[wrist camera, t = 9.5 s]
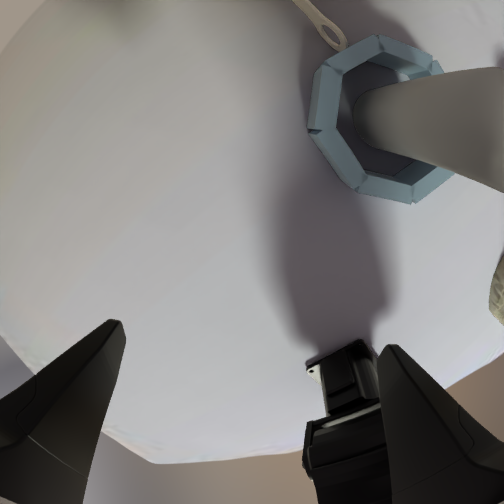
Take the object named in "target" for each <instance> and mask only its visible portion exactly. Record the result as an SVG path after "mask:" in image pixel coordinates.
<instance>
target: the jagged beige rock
mask: <svg viewBox="0 0 504 504" xmlns="http://www.w3.org/2000/svg"><path fill="white" fill-rule="evenodd" d="M489 303H490V304H489V310H490V312H491V313H492V314H493V315H494V317H496V318H497V319H498V320H499V322H501V323H502V324H503V326H504V256H503V257H502V259H501V261H500V263H499V264H498V266H497V268H496V271H495V273H494V275H493V279H492V283H491V288H490V296H489Z"/></svg>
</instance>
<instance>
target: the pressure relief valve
mask: <svg viewBox="0 0 504 504" xmlns="http://www.w3.org/2000/svg"><path fill="white" fill-rule="evenodd" d="M292 1H293V2H294V3H295V4H296V5H297V6H298V7H299V8H300V9H301V10H302V11H303V12H304V13H305V14H306V15H307V17H308V18H309V19H310V20H311V21H312V22H313V24H314V25H315V27H316V29H317V31H318V32H319V34H320V35H321V36H322V38H323V39H324V40H325V41H326V42H327V43H328V44H329V45H330V46H331V47H332V48H333V49H335V50H337V51H339V52H341V51H343V50H344V49H346V48H348V47H349V45H348V41H347V39H346V37H345V35H344V34H343V32H342V31H341V30H340V29H339V27H337V26H336V25H335V24H334V23H333V22H332V21H330V20H329V19H327V18H326V17H325V16H324V15H322V13H321V12H320V11H319V10H318V9H317V8H316V7H315V6H314V5H313V4H312V3H311V2H310V1H309V0H292ZM323 25H326V26H328V27H329V28H330V29H332V30H333V31H334V32H335V34H336V35H337V36H338V38H339V40H340V45H339V44H337V43H335V42H334V41H332V40H331V39H330V38H329V37H328V35H327V34H326V33H325V31H324V29H323Z"/></svg>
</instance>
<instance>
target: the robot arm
mask: <svg viewBox="0 0 504 504" xmlns="http://www.w3.org/2000/svg"><path fill="white" fill-rule="evenodd" d="M125 344H126V336H125V332H124V329H123V325H122V322H121V321H119V320H115V319H108V320H107V321H106V322H104V323H103V324H101V325H100V326H99V327H97V328H96V329H95V330H93V331H92V332H91V333H89V334H88V335H87V336H85V337H84V338H83V339H81V340H80V341H79V342H77V343H76V344H75V345H73V346H72V347H71V348H69V349H68V350H67V351H65V352H64V353H63V354H61V355H60V356H59V357H57V358H56V359H55V360H53V361H52V362H51V363H50V364H48V365H47V366H46V367H44V368H43V369H42V370H41V371H39V372H38V373H37V374H36V375H34V376H33V377H32V378H30V379H29V380H28V381H26V382H25V383H24V384H22V385H21V386H20V387H18V388H17V389H15V390H14V391H12V392H11V393H9V394H8V395H6V396H5V397H3V398H2V399H0V504H83V499H84V494H85V489H86V485H87V481H88V476H89V472H90V468H91V464H92V460H93V456H94V452H95V448H96V445H97V442H98V438H99V435H100V431H101V428H102V425H103V421H104V418H105V415H106V412H107V409H108V406H109V403H110V400H111V397H112V394H113V391H114V388H115V385H116V382H117V378H118V374H119V369H120V365H121V361H122V356H123V352H124V348H125ZM359 344H360V345H359ZM306 371H307V374H309V375H310V376H311V377H312V378H313V379H314V380H315V381H316V382H317V383H318V384H320V385H321V386H322V391H323V397H324V404H325V410H326V417H324V418H321V419H318V420H315V421H313V420H312V421H309V422H307V426H306V431H305V439H304V448H303V456H302V461H303V462H302V466H303V468H304V469H305V470H306V473H307V475H308V477H309V478H310V479H311V480H312V481H313V482H314V485H315V488H316V493H317V498H318V504H504V442H502V441H500V440H498V439H497V438H496V437H495V436H493V435H492V434H491V433H490V432H489V431H488V430H487V429H485V428H484V427H483V426H482V425H481V424H479V423H478V422H477V421H476V420H475V419H474V418H473V417H472V416H471V415H470V414H469V413H468V412H467V411H466V410H465V409H464V408H463V407H461V405H459V404H458V403H457V402H456V401H455V400H454V399H453V398H452V397H451V396H450V395H449V394H448V393H447V392H446V391H445V390H444V389H443V388H442V387H441V386H440V385H439V384H438V383H437V382H436V381H435V380H434V379H433V378H432V377H431V376H430V375H429V374H428V373H427V372H426V371H425V370H424V369H423V368H422V367H421V366H420V365H419V364H418V363H417V362H416V361H414V360H413V359H412V358H411V357H410V356H409V355H408V354H407V353H406V352H405V351H404V350H403V349H402V348H401V347H400V346H399V345H397V344H388V345H386V346H385V348H384V349H383V351H382V352H381V354H380V356H379V357H378V359H376V357H375V356H374V354H373V353H372V351H371V350H370V349H369V347H368V346H367V344H366V343H365V342H364V340H362V339H360V340H357V341H355V342H353V343H352V344H350V345H348V346H346V347H345V348H343V349H341V350H339V351H337V352H335V353H333V354H332V355H330V356H328V357H326V358H324V359H322V360H320V361H318V362H316V363H314V364H312V365H310V366H308V367H307V368H306Z"/></svg>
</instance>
